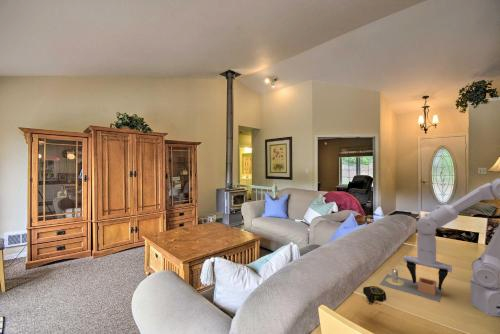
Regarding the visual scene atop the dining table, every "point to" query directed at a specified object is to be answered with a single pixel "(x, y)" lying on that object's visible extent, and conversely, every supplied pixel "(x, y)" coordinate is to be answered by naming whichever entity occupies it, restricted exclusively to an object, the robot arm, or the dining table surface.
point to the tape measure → (374, 294)
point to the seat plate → (409, 287)
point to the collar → (427, 286)
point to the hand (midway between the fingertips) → (426, 285)
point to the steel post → (394, 275)
